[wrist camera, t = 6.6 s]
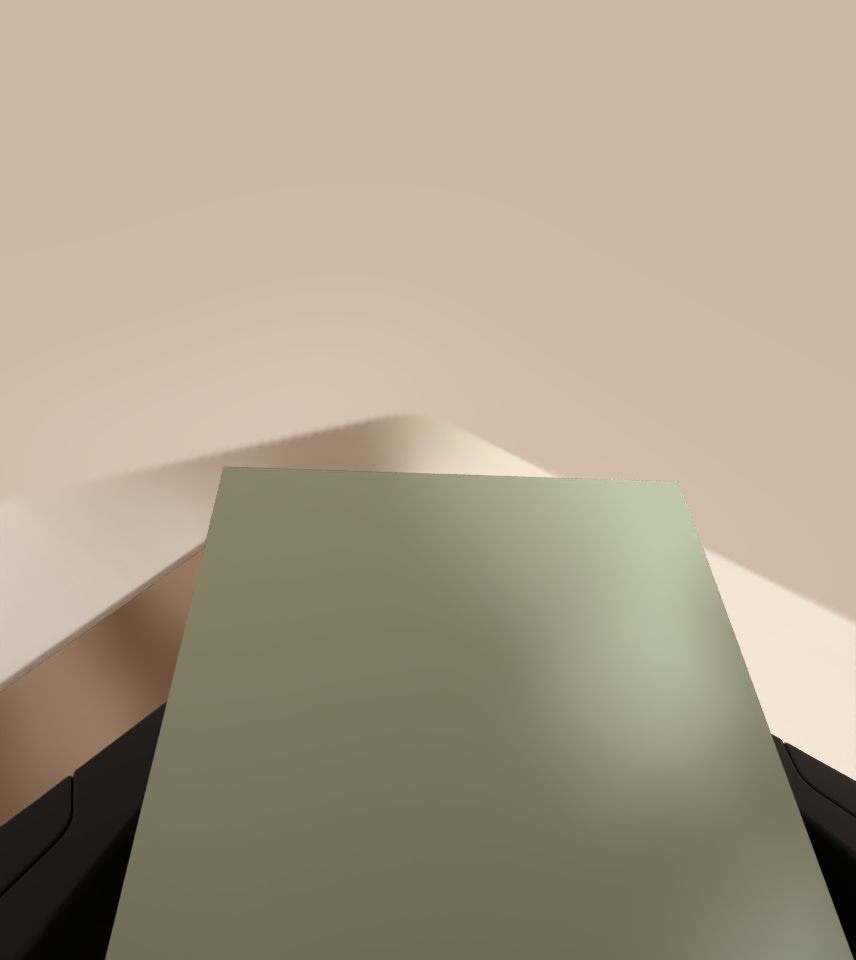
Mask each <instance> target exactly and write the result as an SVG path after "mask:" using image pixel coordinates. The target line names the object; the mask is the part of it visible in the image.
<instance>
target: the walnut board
mask: <svg viewBox="0 0 856 960" xmlns="http://www.w3.org/2000/svg"><path fill="white" fill-rule="evenodd" d="M203 551H204V549H203V550H202V551H200V552H199V553H197V554H196V555H195V556H193V557H192V558H190V559H189V560H187V561H186V562H185V563H183V564H182V565H180V566H179V567H178V568H176V569H175V570H173V571H172V572H170V573H169V574H168V575H166V576H165V577H163V578H162V579H161V580H159V581H158V582H156V583H155V584H153V585H152V586H151V587H149V588H148V589H146V590H145V591H143V592H142V593H141V594H139V595H138V596H136V597H135V598H134V599H132V600H131V601H129V602H128V603H126V604H125V605H124V606H122V607H121V608H119V609H118V610H117V611H115V612H114V613H112V614H111V615H109V616H108V617H107V618H105V619H104V620H102V621H101V622H99V623H98V624H97V625H95V626H94V627H92V628H91V629H90V630H88V631H87V632H85V633H84V634H82V635H81V636H80V637H78V638H77V639H75V640H74V641H73V642H71V643H70V644H68V645H67V646H65V647H64V648H63V649H61V650H60V651H58V652H57V653H55V654H54V655H53V656H51V657H50V658H48V659H47V660H46V661H44V662H43V663H41V664H40V665H38V666H37V667H36V668H34V669H33V670H31V671H30V672H29V673H27V674H26V675H24V676H23V677H21V678H20V679H19V680H17V681H16V682H14V683H13V684H11V685H10V686H9V687H7V688H6V689H4V690H3V691H2V692H0V826H1V825H2V824H3V823H5V822H6V821H8V820H9V819H10V818H12V817H13V816H14V815H16V814H17V813H18V812H20V811H21V810H23V809H24V808H25V807H27V806H28V805H29V804H31V803H32V802H33V801H35V800H36V799H38V798H39V797H40V796H42V795H43V794H44V793H45V792H47V791H48V790H49V789H51V788H52V787H53V786H55V785H56V784H57V783H59V782H60V781H61V780H63V779H64V778H65V777H67V776H72V777H73V772H74V771H75V770H76V769H77V768H79V767H80V766H81V765H83V764H84V763H85V762H87V761H88V760H89V759H91V758H92V757H93V756H95V755H96V754H97V753H98V752H100V751H101V750H102V749H104V748H105V747H106V746H108V745H109V744H110V743H112V742H113V741H114V740H116V739H117V738H118V737H120V736H121V735H122V734H124V733H125V732H126V731H127V730H129V729H130V728H131V727H133V726H134V725H135V724H137V723H138V722H139V721H141V720H142V719H143V718H145V717H146V716H147V715H149V714H150V713H151V712H153V711H154V710H155V709H156V708H158V707H159V706H160V705H162V704H163V703H164V702H166V701H167V700H168V696H169V692H170V688H171V684H172V679H173V675H174V671H175V667H176V663H177V659H178V655H179V650H180V646H181V642H182V638H183V634H184V630H185V625H186V621H187V617H188V613H189V609H190V605H191V600H192V596H193V592H194V588H195V584H196V580H197V575H198V571H199V567H200V563H201V559H202V555H203Z"/></svg>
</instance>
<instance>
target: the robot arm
mask: <svg viewBox="0 0 856 960" xmlns="http://www.w3.org/2000/svg"><path fill="white" fill-rule="evenodd" d="M166 704H167V701H166V702H164V703H163V704H162V705H160V706H159V707H158V708H156V709H155V710H154V711H153V712H151V713H150V714H149V715H147V716H146V717H145V718H143V719H142V720H141V721H139V722H138V723H137V724H135V725H134V726H133V727H131V728H130V729H129V730H127V731H126V732H125V733H124V734H122V735H121V736H120V737H118V738H117V739H116V740H114V741H113V742H112V743H110V744H109V745H108V746H106V747H105V748H104V749H102V750H101V751H100V752H98V753H97V754H96V755H95V756H93V757H92V758H91V759H89V760H88V761H87V762H85V763H84V764H83V765H81V766H80V767H79V768H77V769H76V770H75V771H74V772H73V777H72V776H67V777H65V778H64V779H63V780H61V781H60V782H59V783H57V784H56V785H55V786H53V787H52V788H51V789H49V790H48V791H47V792H45V793H44V794H43V795H42V796H40V797H39V798H38V799H36V800H35V801H33V802H32V803H31V804H29V805H28V806H27V807H25V808H24V809H23V810H21V811H20V812H18V813H17V814H16V815H14V816H13V817H12V818H10V819H9V820H8V821H6V822H5V823H3V824H2V825H1V826H0V960H105V958H106V954H107V950H108V946H109V942H110V937H111V933H112V929H113V925H114V921H115V917H116V912H117V908H118V904H119V900H120V896H121V892H122V888H123V883H124V879H125V875H126V871H127V867H128V863H129V858H130V854H131V850H132V846H133V842H134V838H135V833H136V829H137V825H138V821H139V817H140V813H141V808H142V804H143V800H144V796H145V792H146V788H147V784H148V779H149V775H150V771H151V767H152V763H153V759H154V754H155V750H156V746H157V742H158V738H159V734H160V729H161V725H162V721H163V717H164V713H165V709H166ZM771 735H772V738H773V741H774V743H775V746H776V749H777V752H778V754H779V757H780V760H781V763H782V765H783V768H784V771H785V773H786V776H787V779H788V782H789V784H790V787H791V790H792V793H793V795H794V798H795V801H796V803H797V806H798V809H799V812H800V814H801V817H802V820H803V823H804V825H805V828H806V831H807V834H808V836H809V839H810V842H811V844H812V847H813V850H814V853H815V855H816V858H817V861H818V864H819V866H820V869H821V872H822V874H823V877H824V880H825V883H826V885H827V888H828V891H829V894H830V896H831V899H832V902H833V905H834V907H835V910H836V913H837V915H838V918H839V921H840V924H841V926H842V929H843V932H844V935H845V937H846V940H847V943H848V945H849V948H850V951H851V954H852V956H853V959H854V960H856V781H855V780H853V779H851V778H849V777H848V776H846V775H844V774H842V773H840V772H838V771H837V770H835V769H833V768H831V767H829V766H828V765H826V764H824V763H822V762H820V761H819V760H817V759H815V758H813V757H811V756H810V755H808V754H806V753H804V752H803V751H801V750H799V749H797V748H796V747H794V746H792V745H790V744H789V743H783V742H782V740H781V739H780V738H778V737H776V736H774V735H773V734H771Z"/></svg>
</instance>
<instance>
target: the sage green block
mask: <svg viewBox="0 0 856 960" xmlns="http://www.w3.org/2000/svg"><path fill="white" fill-rule="evenodd" d="M105 960H854V959H853V956H852V954H851V951H850V948H849V945H848V943H847V940H846V937H845V935H844V932H843V929H842V926H841V924H840V921H839V918H838V915H837V913H836V910H835V907H834V905H833V902H832V899H831V896H830V894H829V891H828V888H827V885H826V883H825V880H824V877H823V874H822V872H821V869H820V866H819V864H818V861H817V858H816V855H815V853H814V850H813V847H812V844H811V842H810V839H809V836H808V834H807V831H806V828H805V825H804V823H803V820H802V817H801V814H800V812H799V809H798V806H797V803H796V801H795V798H794V795H793V793H792V790H791V787H790V784H789V782H788V779H787V776H786V773H785V771H784V768H783V765H782V763H781V760H780V757H779V754H778V752H777V749H776V746H775V743H774V741H773V738H772V735H771V732H770V730H769V727H768V724H767V722H766V719H765V716H764V713H763V711H762V708H761V705H760V702H759V700H758V697H757V694H756V692H755V689H754V686H753V683H752V681H751V678H750V675H749V672H748V670H747V667H746V664H745V661H744V659H743V656H742V653H741V651H740V648H739V645H738V642H737V640H736V637H735V634H734V631H733V629H732V626H731V623H730V621H729V618H728V615H727V612H726V610H725V607H724V604H723V601H722V599H721V596H720V593H719V590H718V588H717V585H716V582H715V580H714V577H713V574H712V571H711V569H710V566H709V563H708V560H707V558H706V555H705V552H704V550H703V547H702V544H701V541H700V539H699V536H698V533H697V531H696V528H695V525H694V522H693V520H692V517H691V514H690V511H689V509H688V506H687V503H686V501H685V498H684V495H683V492H682V490H681V487H680V485H679V482H668V481H666V482H665V481H638V480H608V479H578V478H575V479H574V478H548V477H518V476H487V475H457V474H427V473H397V472H367V471H337V470H307V469H277V468H247V467H223V471H222V476H221V480H220V484H219V488H218V492H217V496H216V501H215V505H214V509H213V513H212V517H211V521H210V526H209V530H208V534H207V538H206V542H205V546H204V551H203V555H202V559H201V563H200V567H199V571H198V575H197V580H196V584H195V588H194V592H193V596H192V600H191V605H190V609H189V613H188V617H187V621H186V625H185V630H184V634H183V638H182V642H181V646H180V650H179V655H178V659H177V663H176V667H175V671H174V675H173V679H172V684H171V688H170V692H169V696H168V700H167V704H166V709H165V713H164V717H163V721H162V725H161V729H160V734H159V738H158V742H157V746H156V750H155V754H154V759H153V763H152V767H151V771H150V775H149V779H148V784H147V788H146V792H145V796H144V800H143V804H142V808H141V813H140V817H139V821H138V825H137V829H136V833H135V838H134V842H133V846H132V850H131V854H130V858H129V863H128V867H127V871H126V875H125V879H124V883H123V888H122V892H121V896H120V900H119V904H118V908H117V912H116V917H115V921H114V925H113V929H112V933H111V937H110V942H109V946H108V950H107V954H106V958H105Z"/></svg>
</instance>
